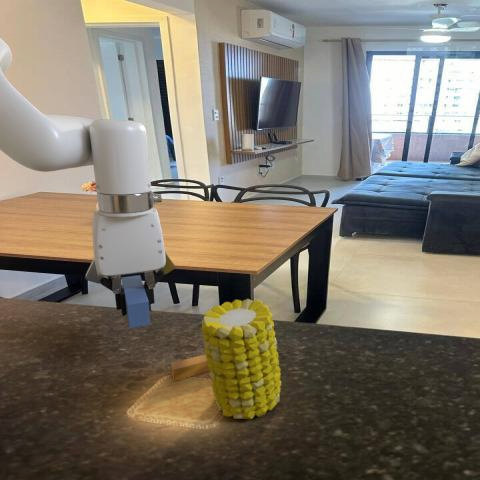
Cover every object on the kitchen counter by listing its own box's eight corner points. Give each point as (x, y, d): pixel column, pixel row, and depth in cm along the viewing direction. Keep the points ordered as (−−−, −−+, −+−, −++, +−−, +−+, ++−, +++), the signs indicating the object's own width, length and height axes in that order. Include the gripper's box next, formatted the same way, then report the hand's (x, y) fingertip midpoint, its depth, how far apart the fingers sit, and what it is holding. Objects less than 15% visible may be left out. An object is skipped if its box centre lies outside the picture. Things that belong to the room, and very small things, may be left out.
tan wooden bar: (174, 381, 58) (172, 370, 57) (171, 374, 59) (170, 363, 59) (249, 359, 64) (249, 349, 63) (245, 353, 65) (245, 343, 65)
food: (285, 425, 52) (209, 437, 50) (277, 359, 62) (213, 367, 60) (282, 343, 44) (193, 354, 43) (274, 284, 54) (201, 290, 53)
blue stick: (150, 324, 60) (148, 301, 59) (129, 328, 59) (127, 304, 57) (141, 295, 70) (140, 274, 69) (123, 298, 68) (121, 277, 67)
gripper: (176, 196, 66) (182, 293, 71) (64, 201, 58) (79, 310, 63) (185, 204, 60) (191, 310, 65) (61, 211, 52) (78, 331, 57)
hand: (136, 309), depth 64 cm, fingers closed on blue stick, 3 cm apart
